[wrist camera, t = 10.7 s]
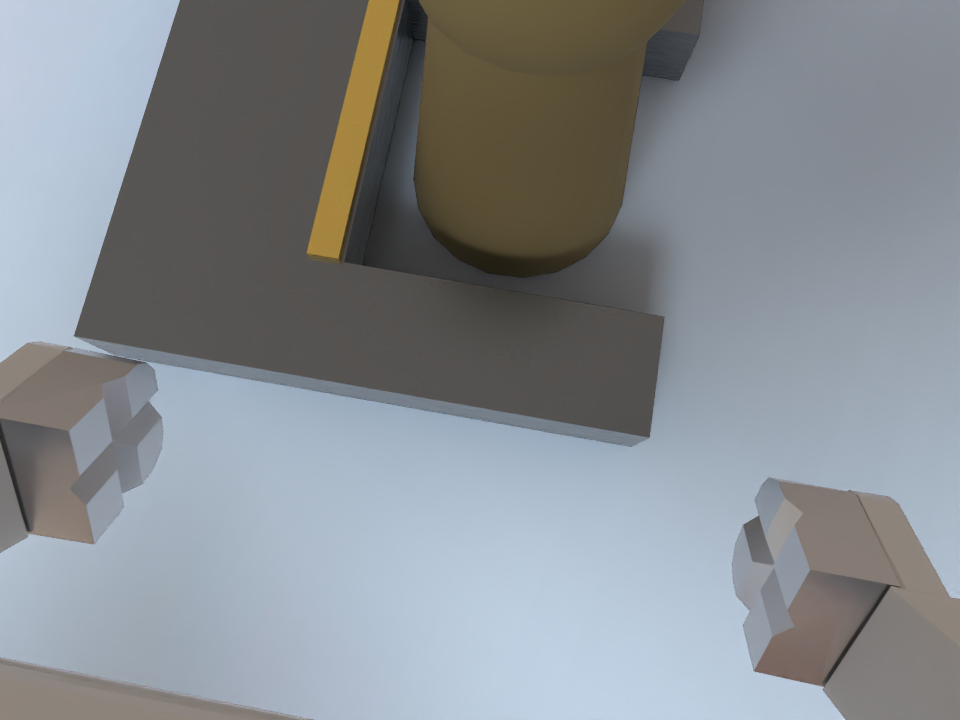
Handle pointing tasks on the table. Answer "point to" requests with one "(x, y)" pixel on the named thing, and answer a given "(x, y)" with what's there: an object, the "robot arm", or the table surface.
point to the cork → (529, 125)
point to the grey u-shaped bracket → (336, 235)
